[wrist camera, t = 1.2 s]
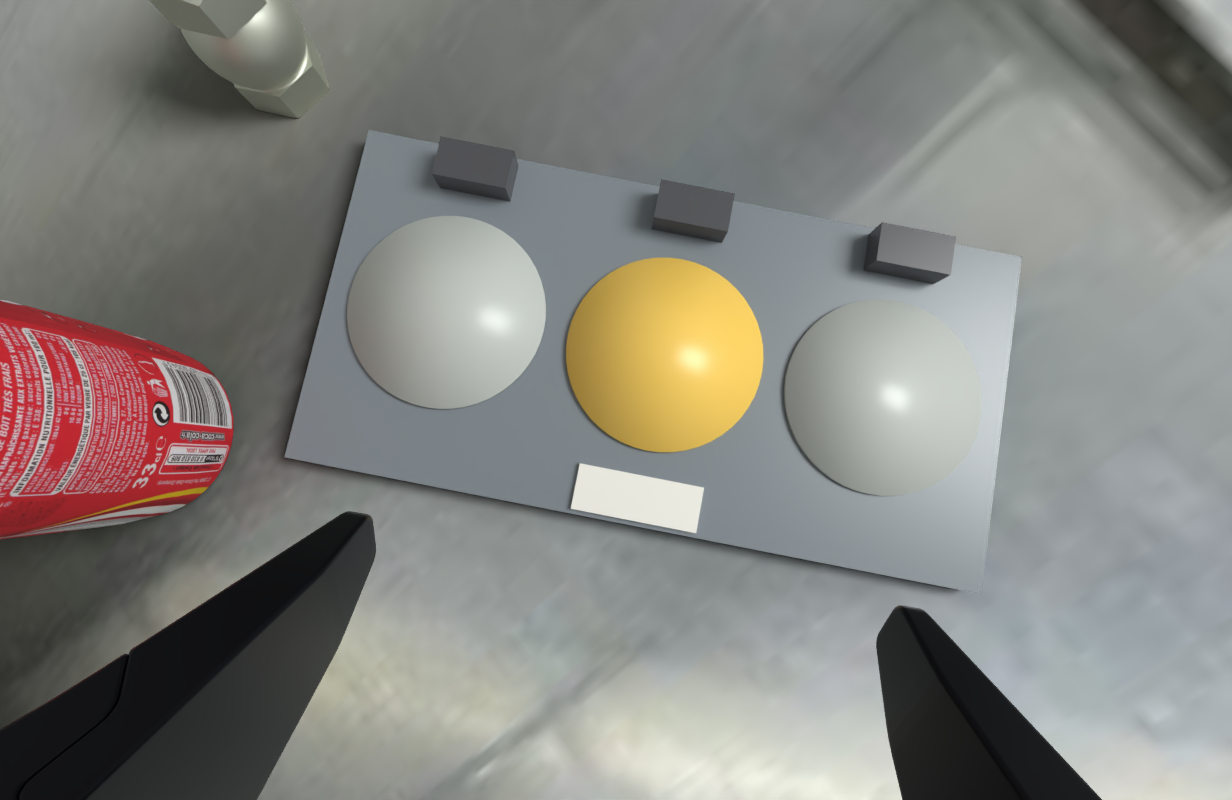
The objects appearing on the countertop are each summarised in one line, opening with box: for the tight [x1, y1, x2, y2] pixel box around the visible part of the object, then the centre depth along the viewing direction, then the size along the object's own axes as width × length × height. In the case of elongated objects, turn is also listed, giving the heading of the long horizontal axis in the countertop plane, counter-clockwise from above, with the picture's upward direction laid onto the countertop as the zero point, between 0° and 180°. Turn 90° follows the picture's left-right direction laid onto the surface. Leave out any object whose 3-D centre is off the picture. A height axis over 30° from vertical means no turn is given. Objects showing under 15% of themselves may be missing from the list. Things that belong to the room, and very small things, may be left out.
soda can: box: [0, 299, 234, 539], centre depth 18 cm, size 7×7×12 cm
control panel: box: [284, 130, 1022, 594], centre depth 24 cm, size 28×14×2 cm, turn 79°
